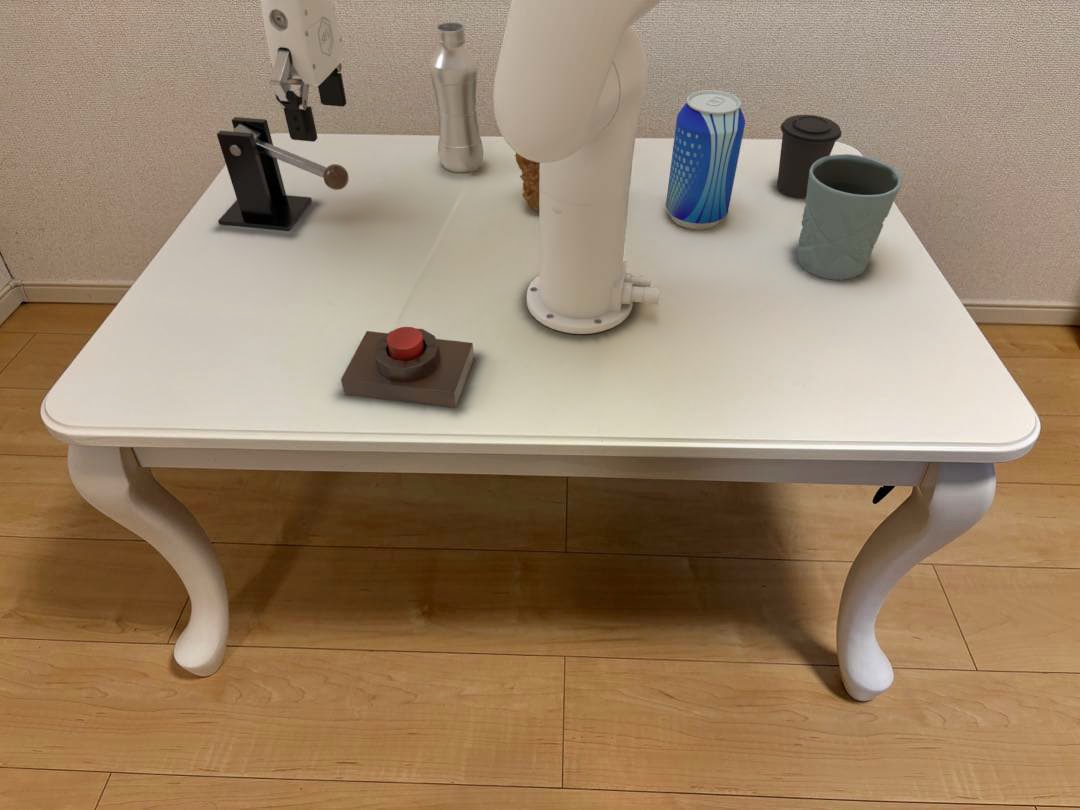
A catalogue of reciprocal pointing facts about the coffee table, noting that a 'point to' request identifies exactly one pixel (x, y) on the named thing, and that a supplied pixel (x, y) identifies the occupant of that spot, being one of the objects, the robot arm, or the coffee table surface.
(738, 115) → the beer can
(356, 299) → the coffee table surface
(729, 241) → the coffee table surface
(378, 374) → the button block
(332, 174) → the lever
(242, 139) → the bracket
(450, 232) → the coffee table surface
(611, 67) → the robot arm
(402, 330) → the button
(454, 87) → the silver metal bottle
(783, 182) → the coffee cup
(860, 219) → the green embossed tumbler
